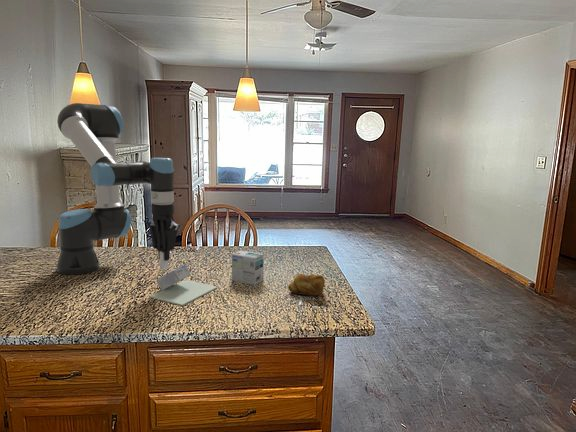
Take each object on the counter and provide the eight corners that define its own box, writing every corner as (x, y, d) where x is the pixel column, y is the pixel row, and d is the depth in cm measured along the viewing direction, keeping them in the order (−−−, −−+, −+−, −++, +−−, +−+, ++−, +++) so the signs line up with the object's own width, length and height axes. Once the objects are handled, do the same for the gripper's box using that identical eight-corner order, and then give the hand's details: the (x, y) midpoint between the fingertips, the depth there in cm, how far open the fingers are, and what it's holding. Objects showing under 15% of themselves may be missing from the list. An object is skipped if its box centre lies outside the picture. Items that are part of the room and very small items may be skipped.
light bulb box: (263, 280, 159) (264, 253, 157) (255, 285, 153) (255, 258, 151) (240, 275, 164) (240, 249, 162) (230, 280, 158) (231, 253, 156)
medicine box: (161, 291, 144) (179, 281, 142) (155, 279, 144) (173, 270, 142) (173, 284, 152) (191, 274, 149) (167, 273, 152) (185, 263, 149)
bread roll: (286, 296, 145) (287, 274, 143) (290, 286, 154) (291, 266, 153) (323, 299, 143) (324, 277, 141) (325, 289, 152) (326, 268, 151)
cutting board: (149, 297, 139) (149, 296, 139) (186, 281, 156) (186, 279, 156) (182, 306, 133) (182, 304, 133) (217, 288, 150) (217, 286, 150)
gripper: (140, 202, 142) (142, 268, 146) (169, 206, 136) (171, 274, 141) (156, 200, 148) (157, 263, 153) (184, 203, 143) (185, 268, 147)
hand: (164, 268), depth 147 cm, fingers closed
